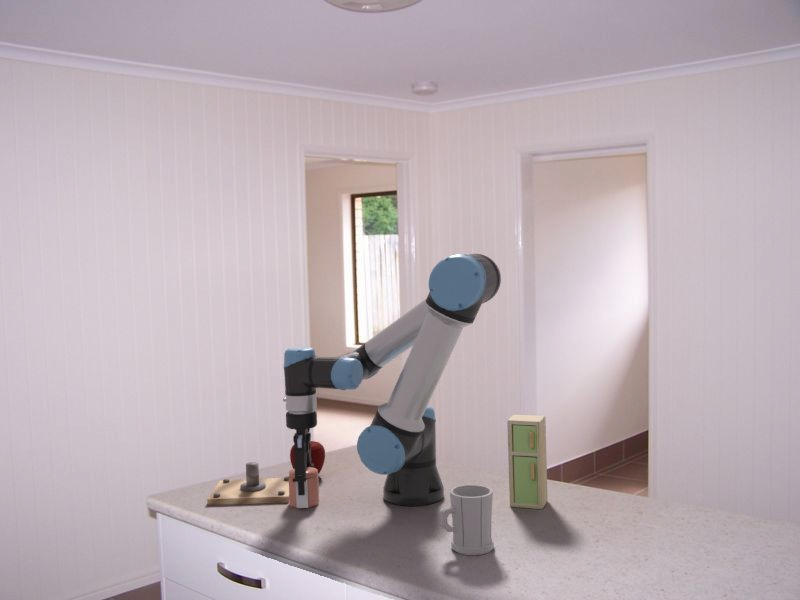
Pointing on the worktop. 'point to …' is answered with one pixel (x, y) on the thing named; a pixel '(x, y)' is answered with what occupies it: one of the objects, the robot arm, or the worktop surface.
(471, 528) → the cup
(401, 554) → the worktop surface
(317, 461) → the apple
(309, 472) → the cap
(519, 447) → the toy refrigerator
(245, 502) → the stud plate
